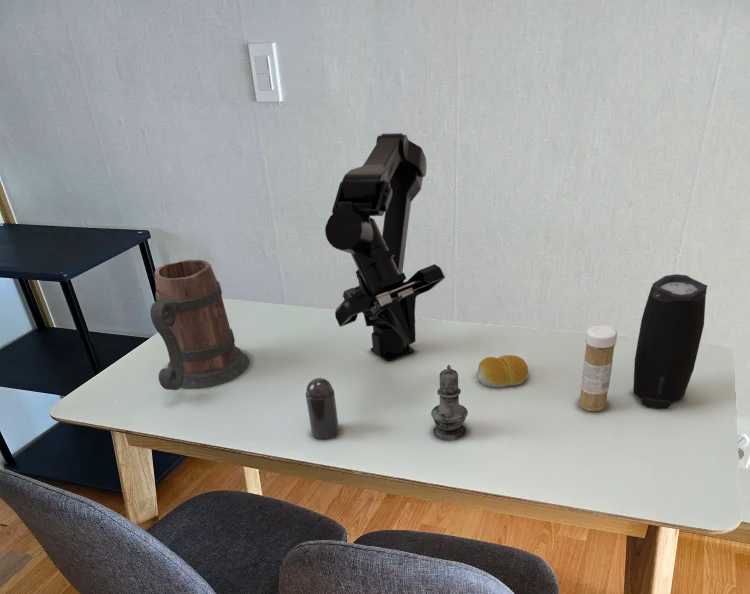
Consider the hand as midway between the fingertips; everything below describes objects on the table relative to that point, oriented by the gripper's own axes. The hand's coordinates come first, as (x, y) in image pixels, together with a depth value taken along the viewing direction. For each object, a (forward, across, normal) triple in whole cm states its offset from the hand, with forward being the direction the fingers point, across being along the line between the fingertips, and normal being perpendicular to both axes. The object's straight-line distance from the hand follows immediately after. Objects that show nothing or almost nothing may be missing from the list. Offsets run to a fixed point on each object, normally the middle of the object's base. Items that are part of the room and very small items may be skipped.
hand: (412, 343), depth 114 cm
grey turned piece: (+16, +2, +1) cm, 16 cm away
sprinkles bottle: (+22, -21, +8) cm, 32 cm away
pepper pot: (+7, +17, -8) cm, 20 cm away
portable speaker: (+26, -31, +11) cm, 42 cm away
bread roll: (+12, -17, -6) cm, 21 cm away
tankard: (-14, +26, -35) cm, 46 cm away
